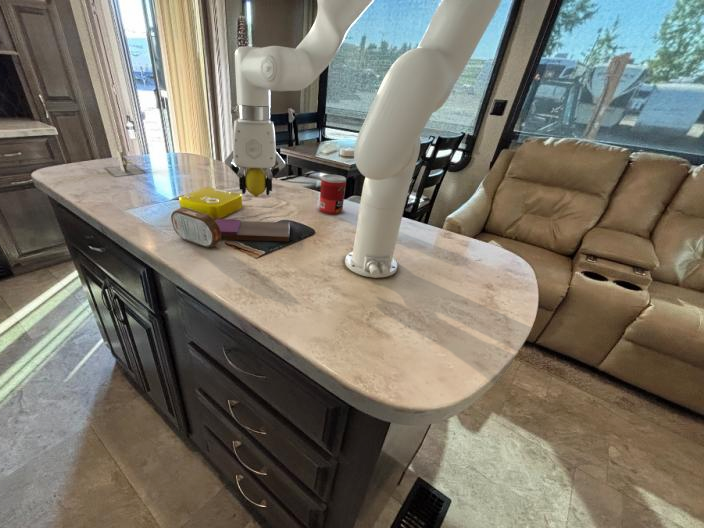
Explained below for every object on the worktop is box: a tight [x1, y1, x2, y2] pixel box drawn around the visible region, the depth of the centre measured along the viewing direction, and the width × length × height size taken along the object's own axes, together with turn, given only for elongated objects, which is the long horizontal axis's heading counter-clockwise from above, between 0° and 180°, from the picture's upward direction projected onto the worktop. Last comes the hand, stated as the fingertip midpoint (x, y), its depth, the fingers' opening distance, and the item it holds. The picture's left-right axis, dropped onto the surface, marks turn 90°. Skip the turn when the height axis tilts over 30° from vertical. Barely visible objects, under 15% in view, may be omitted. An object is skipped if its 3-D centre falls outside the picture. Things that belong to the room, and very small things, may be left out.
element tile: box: [178, 186, 243, 220], centre depth 105 cm, size 15×15×5 cm
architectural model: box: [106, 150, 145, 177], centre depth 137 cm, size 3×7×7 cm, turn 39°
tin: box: [170, 207, 222, 249], centre depth 83 cm, size 15×3×8 cm, turn 59°
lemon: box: [245, 168, 267, 198], centre depth 84 cm, size 6×6×8 cm
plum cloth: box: [216, 218, 242, 234], centre depth 91 cm, size 9×7×1 cm
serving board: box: [215, 220, 290, 243], centre depth 92 cm, size 10×22×2 cm, turn 92°
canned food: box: [318, 173, 347, 216], centre depth 108 cm, size 8×8×11 cm
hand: (256, 192), depth 86 cm, fingers closed on lemon, 5 cm apart
